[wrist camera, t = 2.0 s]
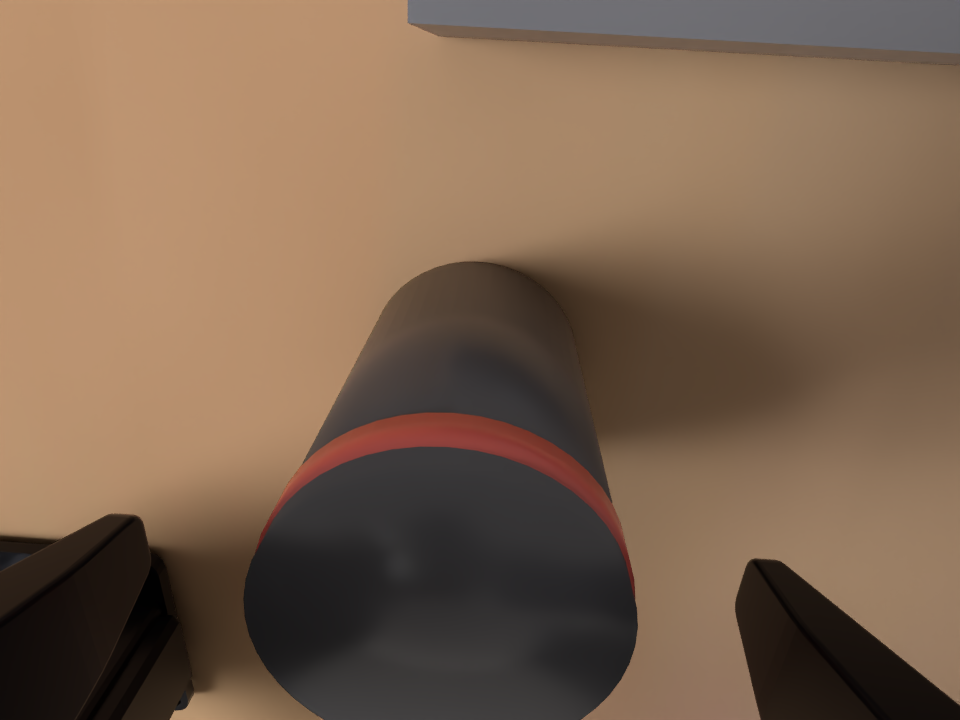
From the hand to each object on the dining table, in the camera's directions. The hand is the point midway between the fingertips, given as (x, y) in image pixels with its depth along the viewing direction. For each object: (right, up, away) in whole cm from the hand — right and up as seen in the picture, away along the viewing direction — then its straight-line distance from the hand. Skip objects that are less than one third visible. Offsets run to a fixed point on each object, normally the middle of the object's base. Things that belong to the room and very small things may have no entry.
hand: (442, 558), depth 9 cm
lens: (0, +3, +6) cm, 7 cm away
